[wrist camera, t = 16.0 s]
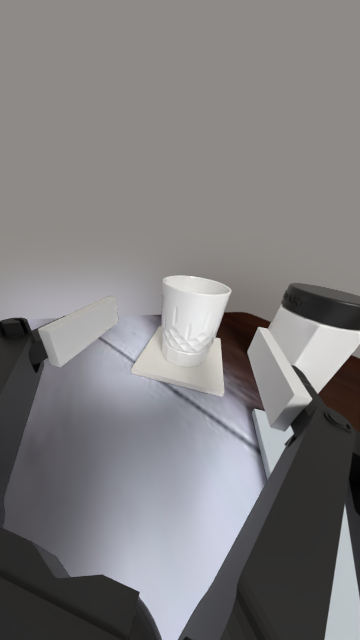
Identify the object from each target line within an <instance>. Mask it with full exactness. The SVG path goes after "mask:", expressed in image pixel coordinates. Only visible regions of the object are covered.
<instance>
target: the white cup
mask: <svg viewBox="0 0 360 640" xmlns="http://www.w3.org/2000/svg"><path fill="white" fill-rule="evenodd" d="M230 294H231V289H230V288H229V287H228V286H226V285H224V284H222V283H219V282H216V281H213V280H209V279H205V278H199V277H193V276H169V277H166V278H164V279H163V291H162V353H163V355H164V356H165V358H166V359H167V360H168V361H170V362H171V363H173V364H175V365H177V366H182V367H187V368H189V367H196V366H199V365H201V364H202V363H204V362H205V361H206V359H207V356H208V353H209V350H210V348H211V345H212V344H213V342H214V339H215V336H216V334H217V330H218V328H219V326H220V323H221V320H222V317H223V314H224V311H225V308H226V305H227V302H228V299H229V297H230Z"/></svg>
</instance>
